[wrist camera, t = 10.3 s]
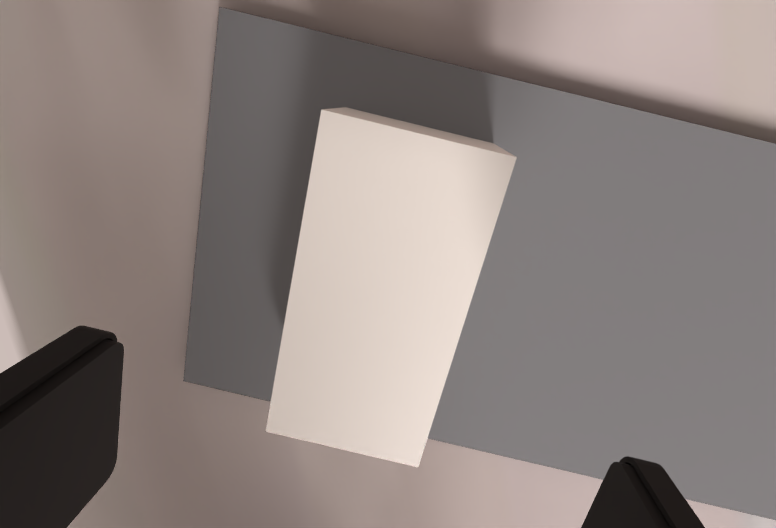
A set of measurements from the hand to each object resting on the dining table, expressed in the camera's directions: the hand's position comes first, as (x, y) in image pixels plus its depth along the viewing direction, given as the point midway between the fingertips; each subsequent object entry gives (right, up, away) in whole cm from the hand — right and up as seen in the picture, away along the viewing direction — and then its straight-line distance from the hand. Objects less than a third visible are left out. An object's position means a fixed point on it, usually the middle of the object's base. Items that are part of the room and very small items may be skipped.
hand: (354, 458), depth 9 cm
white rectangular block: (+1, +4, +8) cm, 9 cm away
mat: (+6, +2, +9) cm, 11 cm away
